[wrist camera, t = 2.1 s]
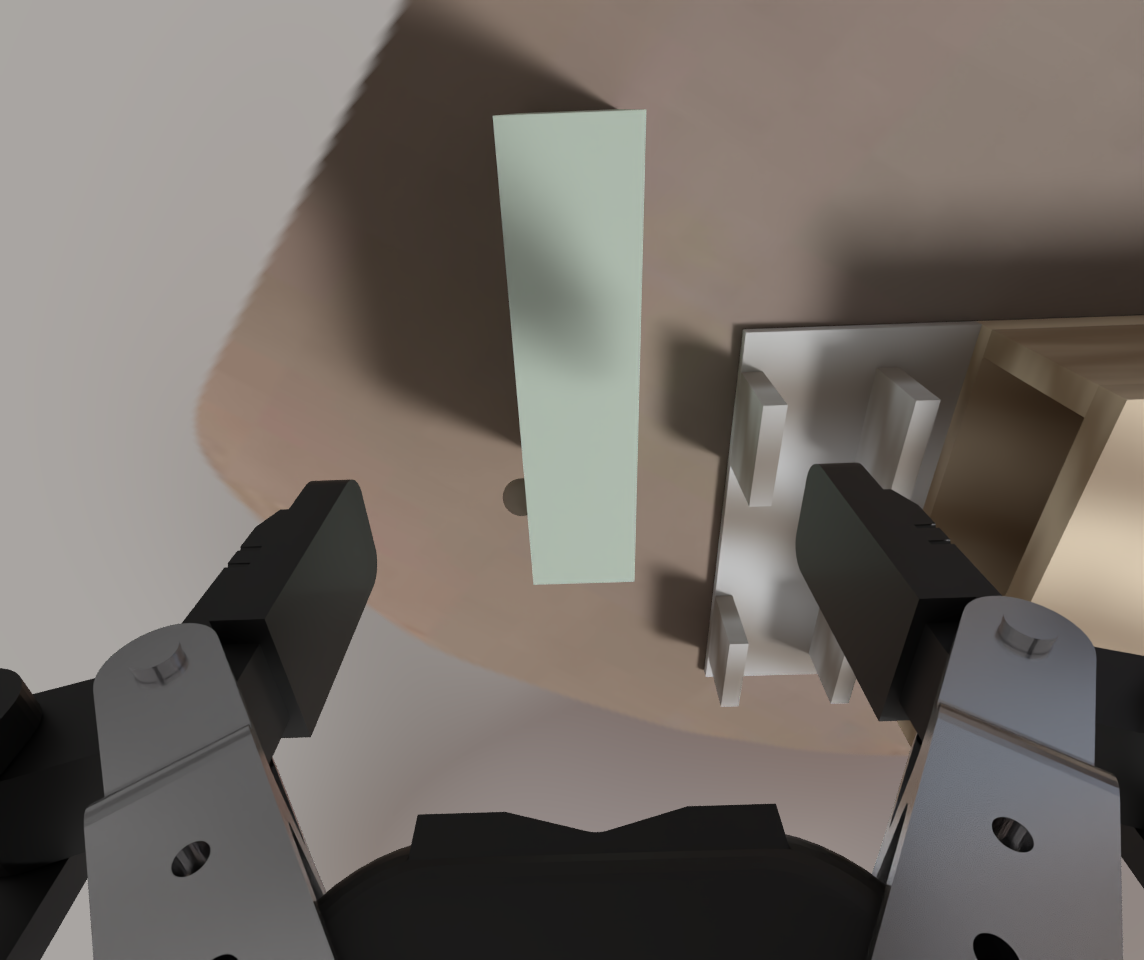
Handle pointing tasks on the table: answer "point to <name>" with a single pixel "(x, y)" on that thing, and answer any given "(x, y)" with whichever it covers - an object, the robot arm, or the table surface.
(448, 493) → the table surface
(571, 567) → the door
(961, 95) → the table surface
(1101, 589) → the cabinet
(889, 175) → the table surface
